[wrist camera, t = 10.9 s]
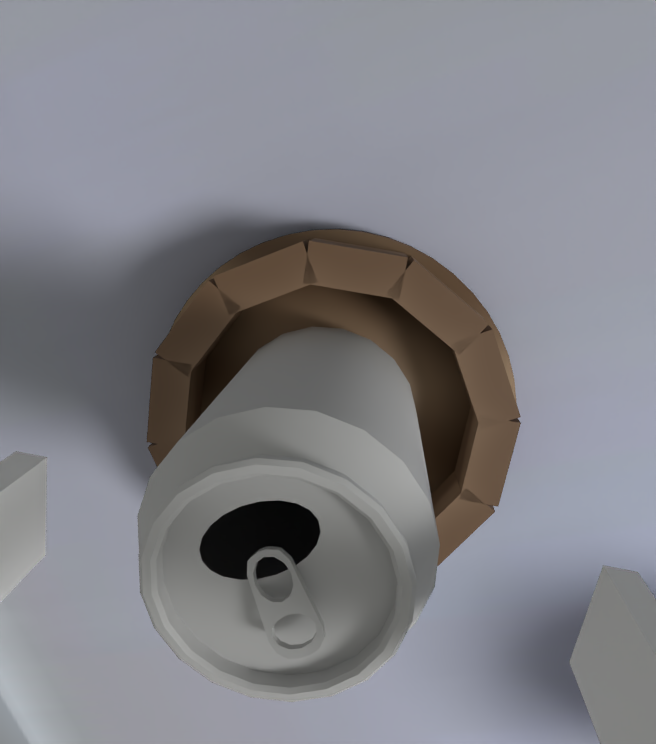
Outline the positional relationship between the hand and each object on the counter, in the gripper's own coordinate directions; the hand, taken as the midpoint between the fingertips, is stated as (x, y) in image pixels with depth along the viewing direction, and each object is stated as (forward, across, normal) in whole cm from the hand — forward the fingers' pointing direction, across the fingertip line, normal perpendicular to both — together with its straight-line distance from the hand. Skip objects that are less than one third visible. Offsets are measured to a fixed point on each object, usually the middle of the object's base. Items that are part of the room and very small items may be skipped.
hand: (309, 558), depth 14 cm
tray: (+12, 0, -1) cm, 12 cm away
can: (+11, -1, 0) cm, 11 cm away
